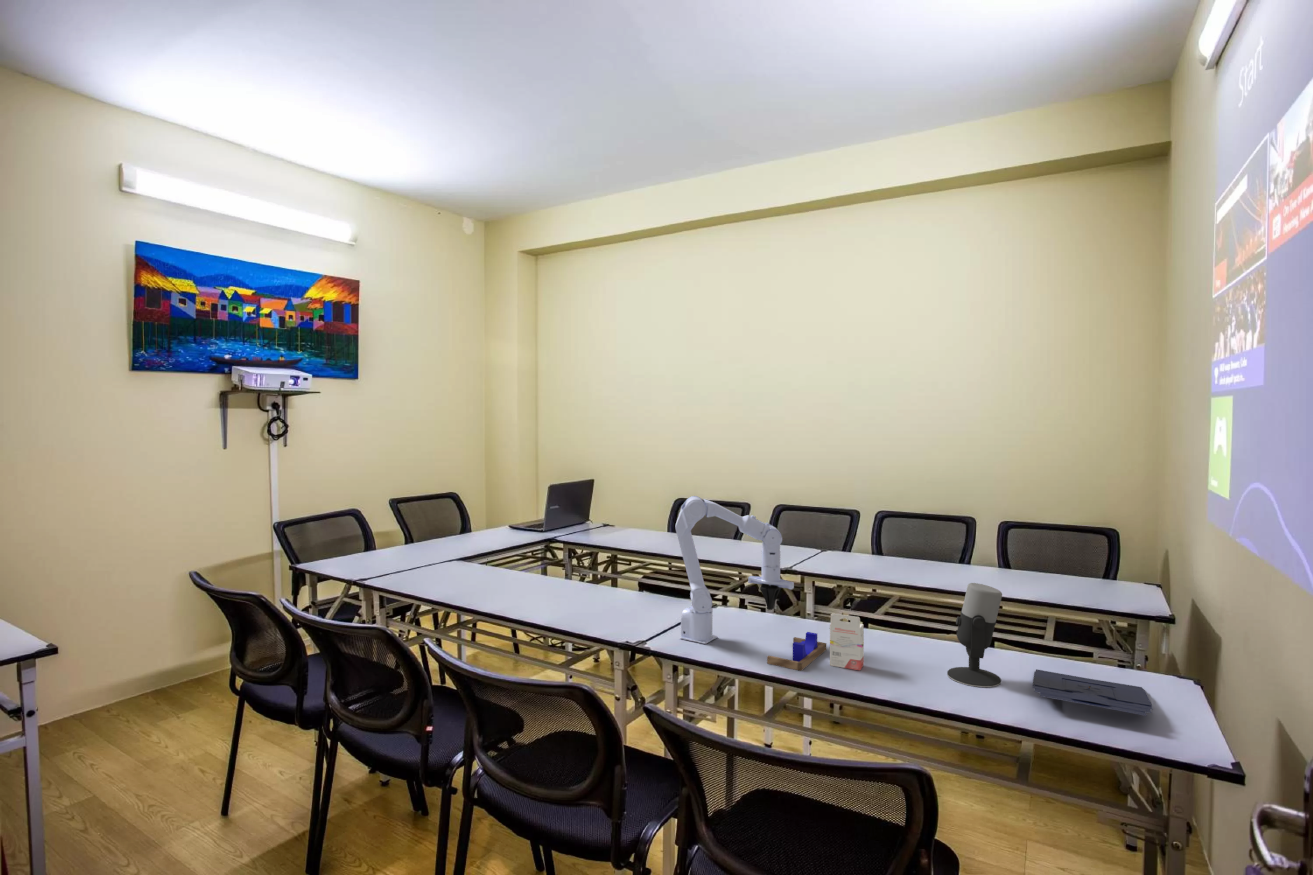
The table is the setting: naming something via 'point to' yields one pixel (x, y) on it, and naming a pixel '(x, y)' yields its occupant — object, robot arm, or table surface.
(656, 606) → the table surface
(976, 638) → the microphone
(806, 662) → the frame
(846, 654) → the ink cartridge box
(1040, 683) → the grooved grey slab
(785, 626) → the table surface
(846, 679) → the table surface
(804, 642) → the blue curved bracket
